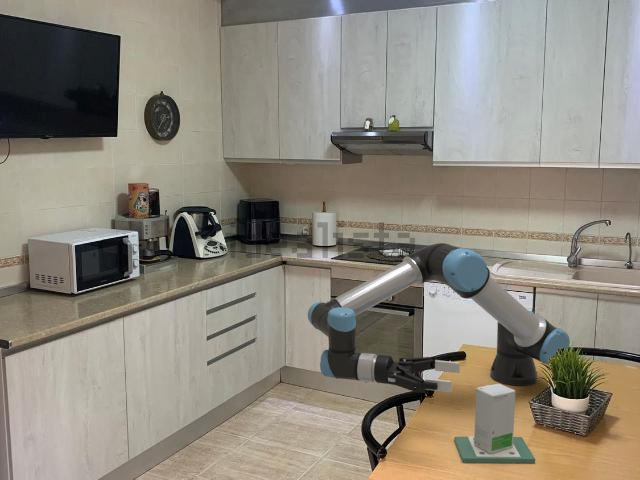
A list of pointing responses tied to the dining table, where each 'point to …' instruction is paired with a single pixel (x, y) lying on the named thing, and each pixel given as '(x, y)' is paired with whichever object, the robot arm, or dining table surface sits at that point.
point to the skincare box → (494, 418)
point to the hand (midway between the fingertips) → (455, 376)
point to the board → (477, 455)
